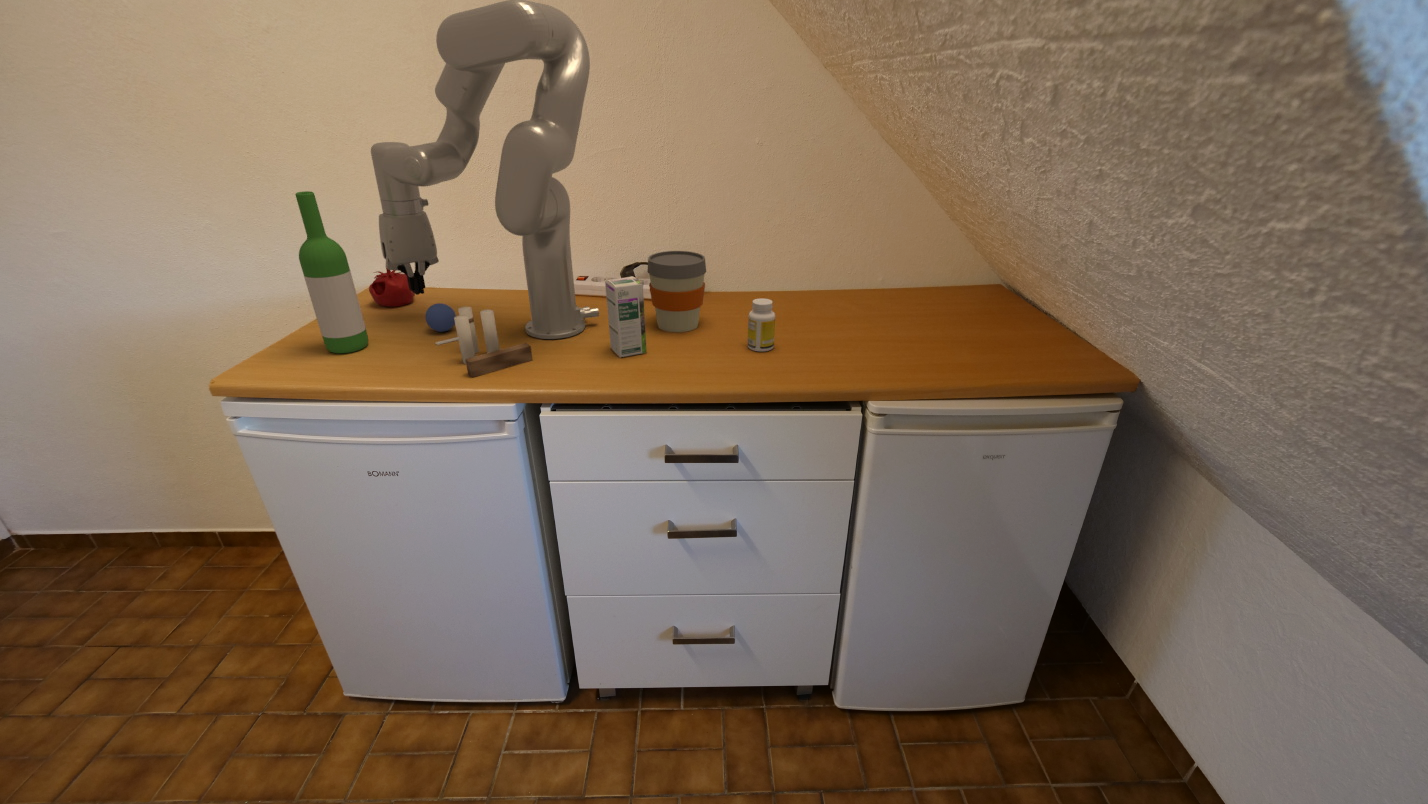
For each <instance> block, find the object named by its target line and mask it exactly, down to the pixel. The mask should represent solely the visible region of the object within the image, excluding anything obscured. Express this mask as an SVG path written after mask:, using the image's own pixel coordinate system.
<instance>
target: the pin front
mask: <svg viewBox="0 0 1428 804" xmlns="http://www.w3.org/2000/svg"><path fill="white" fill-rule="evenodd" d="M457 311H458V314H459V315H458V316H460V315H466V316H468V320H469V325H470V331H471V336H472V342H473V347H474V352H475V354H478V353H479V352H480V348H479V343H478V337H477V333H476V331H477V330H476V327H475V319H474V316H473V315H474V314H473V310H472V307H470V306H460V307H458V309H457Z"/></svg>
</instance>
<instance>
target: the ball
mask: <svg viewBox="0 0 1428 804" xmlns="http://www.w3.org/2000/svg"><path fill="white" fill-rule="evenodd" d="M427 308H428V309H427V310H426V312H425V315H424V317H425V323H426V324H427V326H428V327H429V328H430V329H432V330H434V331H435V332H439V333H443V332H448V331H450V330H452V329H453V328H454V326H455V320H454V318H455V317H456V316H457V315H456V313H455V310H454V309H453V308H452V307H451V306H449V305H448V304H446V303H440V302H439V303H438V302H437V303H434V304H432V305H430V306H429V307H427Z"/></svg>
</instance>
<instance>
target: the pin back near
mask: <svg viewBox="0 0 1428 804" xmlns="http://www.w3.org/2000/svg"><path fill="white" fill-rule="evenodd" d="M494 313H495V312H494V310H493V309H490V308H489V309H483V310H481V311H480V312H479V315H480V318H481V325H482V331H483V338H484V343H485V348H486V353H490V352H494V351H497V350H501V349H500V343H499V337H498V331H497V325H496V320H495V314H494Z"/></svg>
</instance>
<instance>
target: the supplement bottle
mask: <svg viewBox="0 0 1428 804" xmlns="http://www.w3.org/2000/svg"><path fill="white" fill-rule="evenodd" d="M773 303H774V302H773V300H772V299H769V298H755V299H753V300H752V305H751V307H752V310H750V312H749V313H748V317H747V319H748V321H747V323H748V324H747V347H748V349H750V350H751V351H755V352H763V353H764V352H768V351H772V350H773V349H774V346H775V332H776V331H775V330H776V313H775V312H774V311H773Z"/></svg>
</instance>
